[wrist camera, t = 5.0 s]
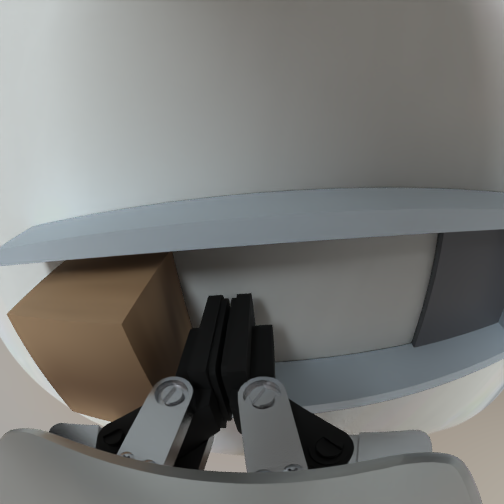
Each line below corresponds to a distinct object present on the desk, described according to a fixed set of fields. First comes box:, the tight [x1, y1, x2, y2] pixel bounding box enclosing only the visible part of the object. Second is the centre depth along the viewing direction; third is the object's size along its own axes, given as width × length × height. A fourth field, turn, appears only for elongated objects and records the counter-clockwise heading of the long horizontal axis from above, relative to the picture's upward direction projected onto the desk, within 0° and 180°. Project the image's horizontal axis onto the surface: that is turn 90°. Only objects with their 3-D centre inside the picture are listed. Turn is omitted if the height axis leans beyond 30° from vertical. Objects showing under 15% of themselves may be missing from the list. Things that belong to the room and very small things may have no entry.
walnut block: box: [7, 251, 192, 422], centre depth 10 cm, size 6×6×5 cm
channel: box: [0, 188, 504, 418], centre depth 10 cm, size 10×29×3 cm, turn 95°
